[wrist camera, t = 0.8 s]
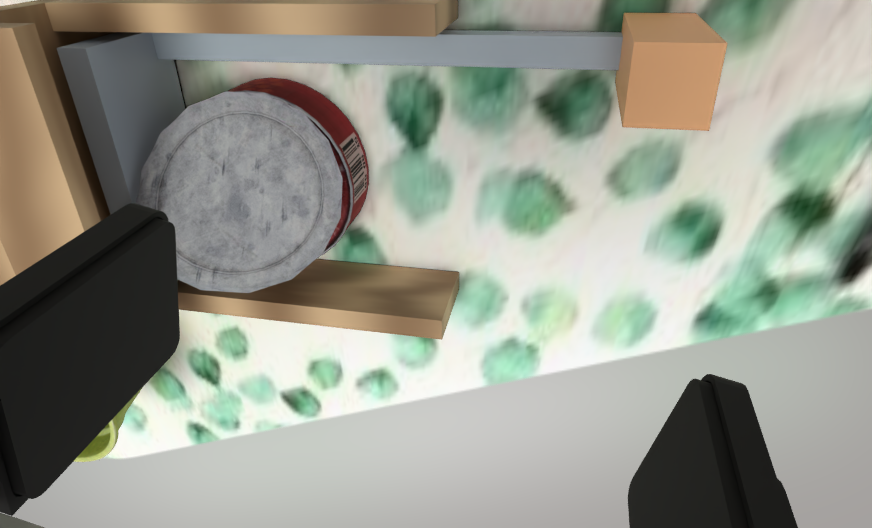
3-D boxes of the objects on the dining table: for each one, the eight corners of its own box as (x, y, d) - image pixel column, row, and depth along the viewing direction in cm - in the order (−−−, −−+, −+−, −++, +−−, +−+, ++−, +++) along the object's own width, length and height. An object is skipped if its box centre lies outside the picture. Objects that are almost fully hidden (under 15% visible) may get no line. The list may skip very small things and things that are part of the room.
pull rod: (695, 13, 26) (727, 43, 20) (646, 283, 33) (659, 364, 27) (136, 9, 31) (32, 32, 26) (195, 242, 38) (124, 303, 32)
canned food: (242, 117, 39) (96, 86, 30) (373, 72, 34) (248, 20, 25) (269, 291, 39) (131, 311, 30) (405, 268, 34) (290, 285, 25)
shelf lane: (457, -10, 28) (388, 32, 18) (459, 289, 36) (411, 428, 26) (97, -10, 32) (-120, 26, 22) (173, 261, 40) (40, 374, 30)
